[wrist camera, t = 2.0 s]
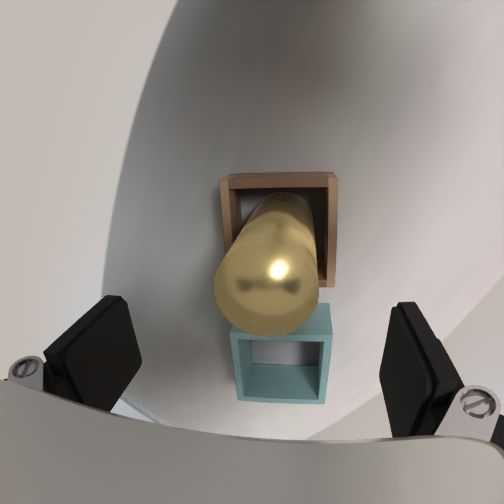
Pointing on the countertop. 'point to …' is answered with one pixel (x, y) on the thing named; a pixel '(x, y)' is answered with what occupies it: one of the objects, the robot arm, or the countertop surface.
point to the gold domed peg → (271, 269)
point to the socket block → (283, 179)
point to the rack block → (284, 376)
